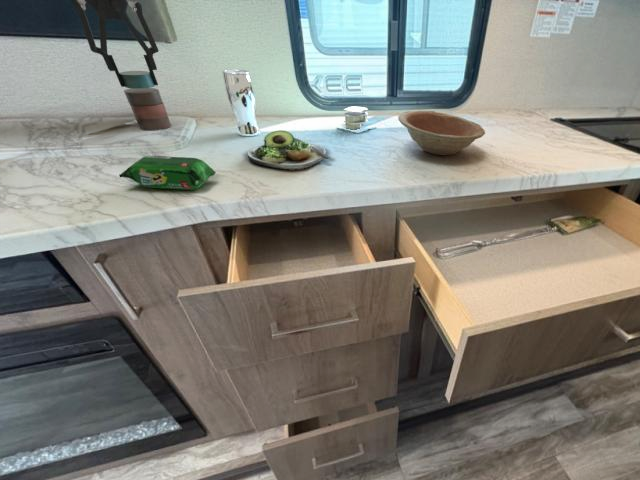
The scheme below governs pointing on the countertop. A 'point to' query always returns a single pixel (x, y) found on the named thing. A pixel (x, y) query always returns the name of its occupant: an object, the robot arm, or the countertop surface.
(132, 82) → the teal short cylinder
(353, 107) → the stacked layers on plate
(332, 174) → the countertop surface
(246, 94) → the beer glass
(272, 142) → the salad plate
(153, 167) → the snack package
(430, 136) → the bowl
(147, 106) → the brown striped cylinder
